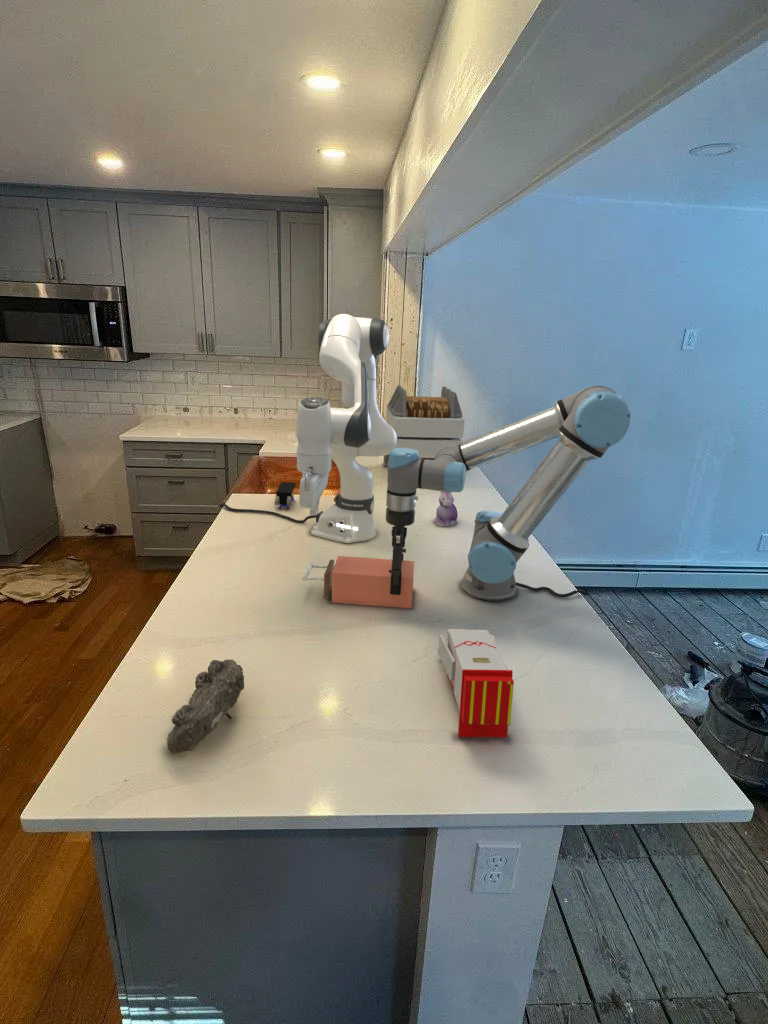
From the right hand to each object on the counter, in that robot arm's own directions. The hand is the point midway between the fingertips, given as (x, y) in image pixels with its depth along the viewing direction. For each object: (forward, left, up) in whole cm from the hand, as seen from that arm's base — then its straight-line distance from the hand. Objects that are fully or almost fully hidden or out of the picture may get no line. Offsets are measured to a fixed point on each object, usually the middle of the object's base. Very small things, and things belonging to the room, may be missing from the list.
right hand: (396, 584), depth 154 cm
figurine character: (+26, -79, -4) cm, 84 cm away
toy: (-6, +42, -4) cm, 43 cm away
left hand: (+22, -6, +19) cm, 30 cm away
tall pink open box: (+6, -2, -4) cm, 7 cm away
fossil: (+46, +42, -4) cm, 62 cm away
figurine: (-32, -54, -4) cm, 63 cm away
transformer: (-40, -121, -4) cm, 127 cm away
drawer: (+12, -3, -3) cm, 12 cm away
